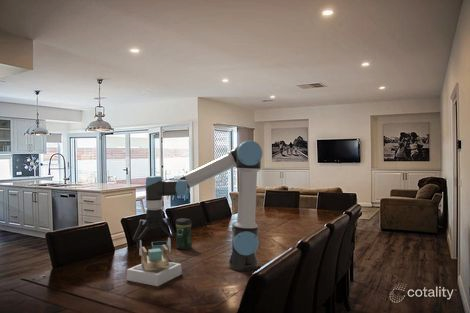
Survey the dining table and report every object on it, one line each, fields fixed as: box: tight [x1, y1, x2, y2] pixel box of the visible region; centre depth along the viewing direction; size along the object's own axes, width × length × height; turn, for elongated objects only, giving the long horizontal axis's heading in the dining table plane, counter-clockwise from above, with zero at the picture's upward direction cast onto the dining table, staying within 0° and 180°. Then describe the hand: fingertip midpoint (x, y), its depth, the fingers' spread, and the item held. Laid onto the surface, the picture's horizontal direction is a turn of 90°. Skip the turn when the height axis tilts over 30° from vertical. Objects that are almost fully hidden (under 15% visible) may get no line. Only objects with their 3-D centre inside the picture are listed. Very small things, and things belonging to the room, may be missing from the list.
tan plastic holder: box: [140, 245, 170, 271], centre depth 170 cm, size 11×12×8 cm
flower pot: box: [151, 240, 168, 251], centre depth 200 cm, size 9×9×9 cm
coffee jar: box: [175, 217, 193, 250], centre depth 224 cm, size 10×8×19 cm
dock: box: [126, 261, 183, 287], centre depth 170 cm, size 18×18×5 cm
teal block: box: [147, 248, 162, 261], centre depth 170 cm, size 6×6×4 cm
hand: (155, 253), depth 170 cm, fingers open, 13 cm apart
